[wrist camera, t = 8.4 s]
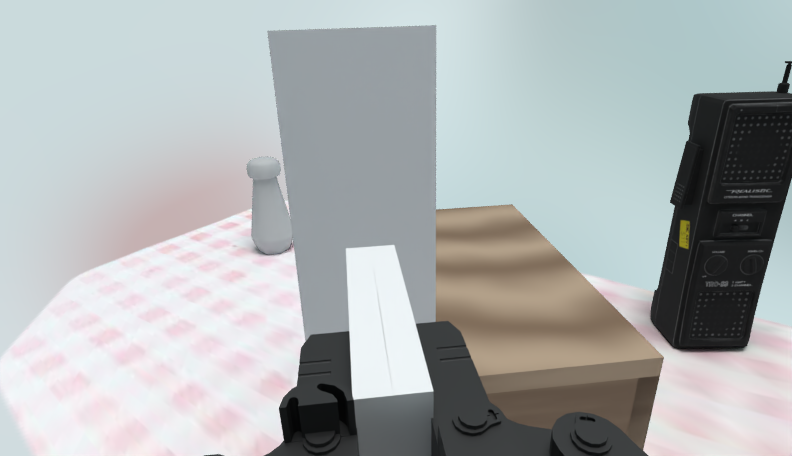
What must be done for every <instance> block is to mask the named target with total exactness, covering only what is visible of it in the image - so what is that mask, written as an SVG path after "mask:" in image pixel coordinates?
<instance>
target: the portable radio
mask: <svg viewBox="0 0 792 456" xmlns="http://www.w3.org/2000/svg"><path fill="white" fill-rule="evenodd" d="M785 63H788V65H787V66H786V70H785V74H784V77H783V81H782V83H780V84H779V85H778V88H777V92H739V93H738V92H737V93H702V94H695V95H694V97H693V100H692V105H691V110H690V115H689V120H688V125H689V130H690V135H689V140H688V141H687V142H686V145H685V149H684V153H683V156H682V160H681V163H680V167H679V171H678V175H677V178H676V182H675V186H674V189H673V193H672V197H671V200H670V203H672V204H673V205H675V208H674V213H673V218H672V223H671V228H670V233H669V238H668V242H667V247H666V252H665V257H664V262H663V267H662V271H661V276H660V281H659V285H658V289H657V290H655V292H654V297H653V302H652V307H651V320H652V321H653V323H654V324H655V326H656V327H657V328H658V329H659V330H660V332H661V333H662V334H663V335H664V336H665V337H666V339H667V340H668V341H669V342H670V343H671V345H672V346H674V347H676V348H737V347H745V346H747V344H748V341H749V337H750V333H751V328H752V324H753V319H754V315H755V311H756V307H757V303H758V299H759V295H760V291H761V287H762V283H763V279H764V276H765V272H766V269H767V265H768V261H769V258H770V253H771V250H772V247H773V243H774V239H775V235H776V232H777V228H778V224H779V221H780V218H781V214H782V210H783V207H784V203H785V200H786V196H787V193H788V189H789V186H790V182H791V179H792V94H790V93H788V89H789V85H790V84H789V83H787V81H788V77H789V73H790V70H791V66H792V65H791V63H792V61H785Z"/></svg>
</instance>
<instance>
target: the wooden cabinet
mask: <svg viewBox="0 0 792 456" xmlns="http://www.w3.org/2000/svg"><path fill="white" fill-rule="evenodd" d="M440 321H449V322H450V323H451V324H453V325H454V326H455V327H456V328H457V329H458V330H460V331H461V333H462V336H463V338H464V341H465V343H466V347H467V348H468V350H469V353H470V355H471V359H472V360H473V362H474V365H475V367H476V370H477V372H478V375H479V377H480V380H481V382H482V384H483V387H484V389H485V392H486V394H487V397H488V399H489V401H490V402H491V403H492V404H494V405H495V406H497V407H498V408H500V410H501V411H502V412H503V414H504V415H505V417H506V418H507V419H509V420H511V421H514V422H516V423H519V424H523V425H527V426H533V427H539V428H546V429H552V427H553V425H554V424H555V422H556V420H557V419H558V418H560V417H561V416H563V415H565V414H567V413H574V412H584V413H591V414H595V415H597V416H600V417H602V418H605V419H607V420H609V421H610V422H611V423H613V424H614V425H616V426H617V427H618V428H620V429H621V430H622V431H623V432H624V433H625V434H626V435H627V436H628V437H629V438H630V439H631V440H632V441H633V442H634V443H635V444H636V445H637V446H638V447H640V448H641V449H642V450H643V448H644V443H645V439H646V434H647V430H648V425H649V421H650V417H651V412H652V408H653V403H654V399H655V394H656V390H657V385H658V381H659V377H660V372H661V368H662V363H663V359H664V357H663V356H662V355H661V354H660V353H659V352H658V351H657V350H656V349H655V348H654V347H653V346H652V345H651V344H650V343H649V342H648V341H647V340H646V339H645V338H644V337H643V336H642V335H641V334H640V333H639V332H638V331H637V330H636V329H635V328H634V327H633V326H632V325H631V324H630V323H629V322H628V321H627V320H626V319H625V318H624V317H623V316H622V315H621V314H620V313H619V312H618V311H617V310H616V309H615V308H614V307H613V306H612V305H611V304H610V303H609V302H608V301H607V300H606V299H605V298H604V297H603V296H602V295H601V294H600V293H599V292H598V291H597V290H596V289H595V288H594V287H593V286H592V285H591V284H590V283H589V282H588V281H587V280H586V279H585V278H584V277H583V275H582V274H581V273H580V272H579V271H577V270H576V268H575V267H574V266H573V265H572V264H571V263H570V262H568V261H567V259H565V257H564V256H563V255H562V254H561V253H560V252H559V251H558V250H557V249H556V248H555V247H554V246H553V245H552V244H551V243H550V242H549V241H548V240H547V239H546V238H545V237H544V236H543V235H542V234H541V233H540V232H539V231H538V230H537V229H536V228H535V227H534V226H533V225H532V224H531V223H530V222H529V221H528V220H527V219H526V218H525V217H524V216H523V215H522V214H521V213H520V212H519V211H518V210H517V209H516V208H515V207H514V206H513V205H499V206H483V207H468V208H454V209H439V210H436V322H440Z"/></svg>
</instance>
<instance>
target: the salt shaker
mask: <svg viewBox="0 0 792 456" xmlns="http://www.w3.org/2000/svg"><path fill="white" fill-rule="evenodd" d="M280 170H281V169H280V163H279V161H278V160H277V159H276V158H273V157H259V158H255V159H252V160H250V161H249V162H248V164H247V172H248V176H249V177H250V178H253V199H252V200H253V201H252V233H251V236H252V239H253V241H254V242H255V244H256V245H257V247H258V249H259V250H260V251H261V252H263V253H265V254H278V253H282V252H284V251H286V250H287V249H289V248H290V245H291V242H292V239H293V234H292V226H291V219H290V216H289V213H288V210H287V207H286V204H285V201H284V199H283V196H282V193H281V190H280V187H279V184H278V181H277V176H278V175H280Z"/></svg>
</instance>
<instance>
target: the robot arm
mask: <svg viewBox="0 0 792 456" xmlns="http://www.w3.org/2000/svg"><path fill="white" fill-rule="evenodd" d="M346 263H347V286H348V309H349V331H345V332H334V333H323V334H312V335H310V336H309V338H308V339H307V341H306V342H305V343H304V345H303V346H302V347H301V354H300V365H299V372H298V381H297V387H295V388H293V389H291V390H290V391H289V392H288V393H287V394H286V395H285V396H284V397H283V400H282V402H281V404H280V407H279V411H280V417H281V424H282V430H283V436H284V441H283V442H282V443H281V445H280V446H279V447H277V448H276V449H274V450H273V451H272V452H270V453H269V454H267V455H265V456H648V455H647V454H646V453H645V452H644V451H643V450H642V449H641V448H640V447H638V446H637V445H636V444H635V443H634V442H633V441H632V440H631V439H630V438H629V437H628V436H627V435H626V434H625V433H624V432H623V431H622V430H621V429H620V428H618V427H617V426H616V425H614V424H613V423H611V422H610V421H609V420H607V419H605V418H602V417H600V416H597V415H595V414H591V413H584V412H574V413H567V414H565V415H563V416H561V417H560V418H558V419H557V420H556V422H555V424H554V425H553V427H552V429H546V428H539V427H533V426H527V425H523V424H519V423H516V422H514V421H511V420H509V419H507V418H506V417H505V415H504V414H503V412H502V411H501V410H500V408H498V407H497V406H495V405H494V404H492V403H491V402H490V401H489V399H488V397H487V394H486V392H485V389H484V387H483V384H482V382H481V380H480V377H479V375H478V372H477V370H476V367H475V365H474V362H473V360H472V359H471V355H470V353H469V350H468V348H467V347H466V343H465V341H464V338H463V336H462V333H461V331H460V330H458V329H457V328H456V327H455V326H454V325H453V324H451V323H450V322H449V321H440V322H429V323H418V324H415V320H414V316H413V313H412V309H411V305H410V301H409V298H408V294H407V290H406V287H405V283H404V279H403V275H402V272H401V268H400V264H399V260H398V257H397V253H396V249H395V245H386V246H372V247H359V248H346ZM205 456H223V455H220V454H217V455H205Z"/></svg>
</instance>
